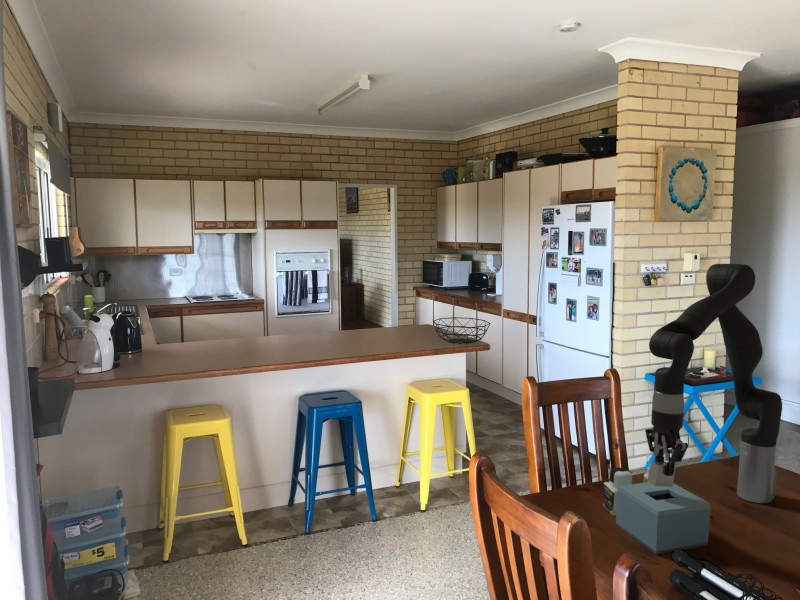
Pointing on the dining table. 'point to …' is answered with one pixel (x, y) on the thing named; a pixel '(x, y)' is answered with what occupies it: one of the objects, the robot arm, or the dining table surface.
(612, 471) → the medicine bottle
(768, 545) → the dining table surface
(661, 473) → the grey block
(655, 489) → the box
